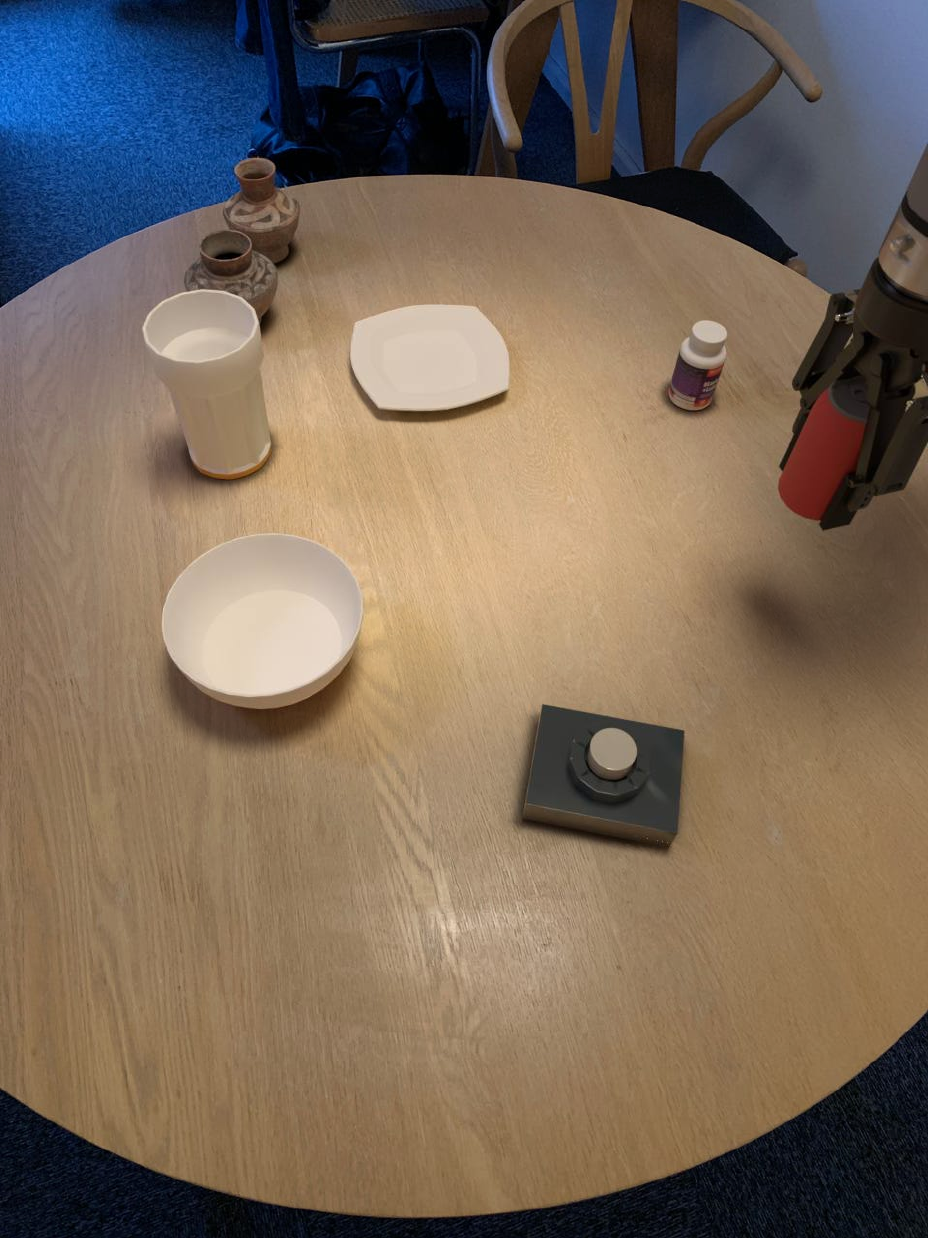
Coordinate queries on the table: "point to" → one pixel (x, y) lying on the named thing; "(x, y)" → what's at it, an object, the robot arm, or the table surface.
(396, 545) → the table surface
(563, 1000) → the table surface
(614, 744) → the beige button cap
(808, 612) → the table surface
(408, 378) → the plate
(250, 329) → the cup
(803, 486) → the beer can
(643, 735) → the beige button cap base
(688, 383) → the pill bottle
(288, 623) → the bowl
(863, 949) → the table surface
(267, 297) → the pottery
